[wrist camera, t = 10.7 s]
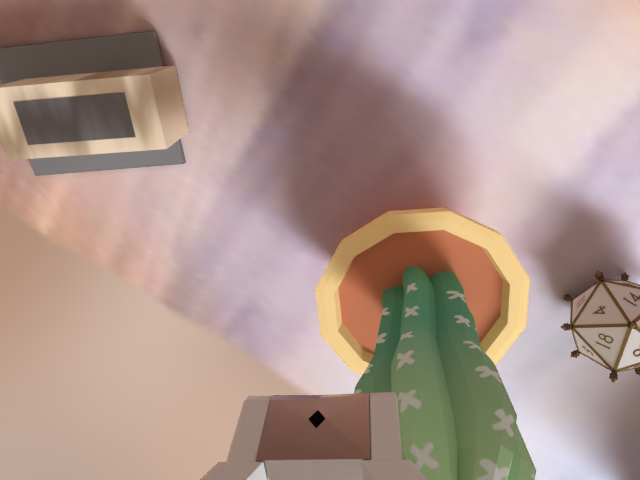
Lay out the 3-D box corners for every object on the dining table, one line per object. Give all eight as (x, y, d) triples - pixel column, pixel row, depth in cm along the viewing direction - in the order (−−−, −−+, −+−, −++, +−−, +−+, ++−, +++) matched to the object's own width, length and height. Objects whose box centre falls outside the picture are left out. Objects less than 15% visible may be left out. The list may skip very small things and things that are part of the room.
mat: (-7, 48, 38) (-11, 49, 38) (156, 30, 37) (153, 31, 36) (38, 173, 42) (35, 175, 42) (185, 161, 41) (183, 163, 40)
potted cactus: (310, 314, 46) (261, 609, 24) (338, 156, 40) (306, 361, 17) (473, 343, 46) (576, 665, 24) (529, 189, 40) (746, 438, 17)
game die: (566, 264, 46) (581, 250, 37) (674, 286, 43) (719, 277, 34) (545, 358, 46) (554, 369, 36) (652, 388, 43) (692, 407, 33)
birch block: (175, 65, 37) (25, 78, 38) (149, 74, 33) (-20, 89, 34) (189, 131, 39) (47, 142, 40) (166, 149, 35) (7, 160, 36)
